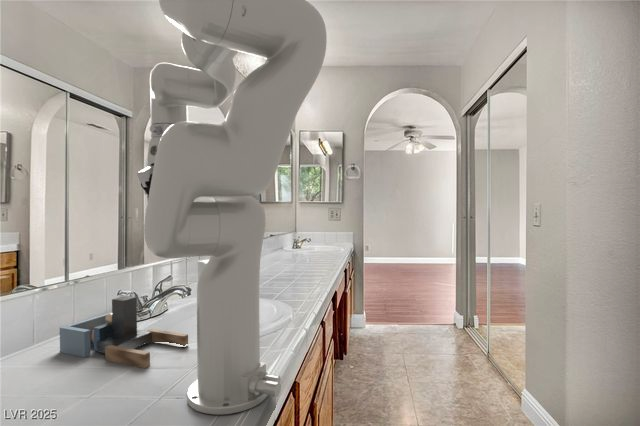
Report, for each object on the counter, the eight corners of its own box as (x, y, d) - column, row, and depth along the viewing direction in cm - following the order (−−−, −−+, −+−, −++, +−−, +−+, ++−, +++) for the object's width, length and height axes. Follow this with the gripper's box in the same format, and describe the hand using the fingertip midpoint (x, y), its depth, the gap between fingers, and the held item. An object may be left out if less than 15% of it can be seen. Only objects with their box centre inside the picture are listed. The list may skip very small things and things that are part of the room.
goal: (136, 336, 85) (136, 314, 85) (84, 357, 74) (84, 331, 73) (113, 332, 88) (113, 311, 88) (60, 352, 76) (59, 327, 76)
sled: (151, 341, 81) (151, 294, 81) (118, 355, 73) (117, 304, 73) (124, 336, 84) (124, 291, 83) (89, 350, 76) (88, 300, 76)
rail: (188, 346, 79) (188, 334, 79) (144, 368, 68) (144, 354, 68) (151, 340, 83) (151, 328, 83) (105, 360, 72) (105, 347, 72)
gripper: (154, 125, 72) (155, 214, 72) (208, 141, 89) (209, 213, 89) (124, 129, 75) (125, 215, 75) (182, 143, 91) (183, 214, 91)
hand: (171, 214), depth 82 cm, fingers open, 9 cm apart
